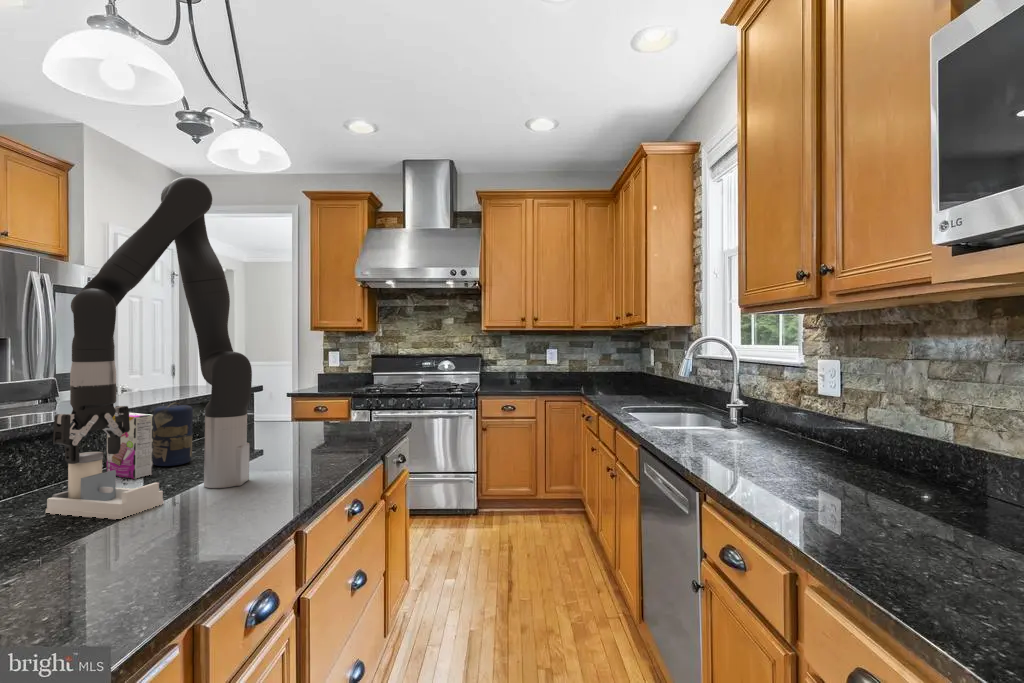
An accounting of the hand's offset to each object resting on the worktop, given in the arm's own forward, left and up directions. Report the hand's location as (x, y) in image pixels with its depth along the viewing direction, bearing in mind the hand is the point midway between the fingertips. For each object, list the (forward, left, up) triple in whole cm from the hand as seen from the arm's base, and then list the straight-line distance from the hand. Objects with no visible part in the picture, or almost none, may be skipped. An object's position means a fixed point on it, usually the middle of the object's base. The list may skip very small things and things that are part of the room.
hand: (93, 458), depth 106 cm
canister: (+3, -39, -11) cm, 41 cm away
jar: (+2, 0, -9) cm, 9 cm away
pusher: (-3, +1, -9) cm, 10 cm away
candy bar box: (+8, -27, -11) cm, 30 cm away
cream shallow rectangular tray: (-3, +2, -10) cm, 11 cm away
